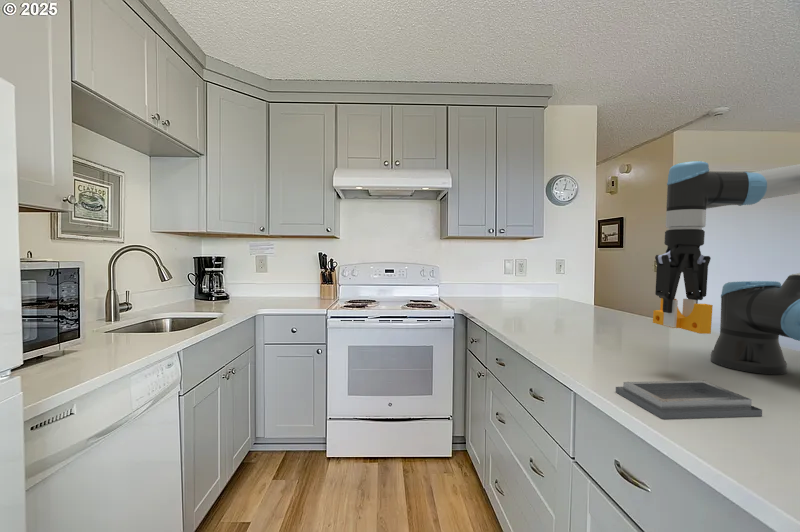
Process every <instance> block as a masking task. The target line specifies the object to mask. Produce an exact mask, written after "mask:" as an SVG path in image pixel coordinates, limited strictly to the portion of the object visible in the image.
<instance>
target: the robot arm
mask: <svg viewBox="0 0 800 532" xmlns="http://www.w3.org/2000/svg"><path fill="white" fill-rule="evenodd" d="M666 186H667V189H666V190H667V192H666V213H665V227H666V229H667V230H665V231H664V245H666V246H667V248H666V251H665V253H663V254H655V257H654V258H655V263H656V273H655V274H656V277H655V292H654V293H655V296H657V297H659V299H661V298H663V312H664V322H663V325H664V327H667V326H668V327H667V328H670V327H673V328H672V329H677V328H676V322H677V306H678V301H679V300H678V299H677V300H674V299H676V294H677V292H678V287H679V282H680V279H681V276H682V275H683V276H682V277H683V283H684V289H685V295H686V298H683V299H682V311H681V313H682V314H683V315H684V316H685V317H687V316H689V315H690V314H691V312H692V310H693V308H694V304H699V302H698V301H703V299H704V298H706V296H707V291H708V290H707V288H708V275H709V274H708V272H709V264H710V262H711V256H710V255H704V254H702V251H701V248H700V247H702V246H703V245H704V244H705V230H704V228H705V227H706V225H707V224H706V221H707V220H706V219H707V210H708V209H713V208H720V207H726V206H740V207H741V206H750V205H751V206H752V205H755V204H757V203H759V202H760V201H762V200H766V199H771V198H778V197H784V196H790V195H795V194H800V163H798V164H794V165H787V166H782V167H781V166H780V167H775V168H769V169H763V170H759V171H758V170H757V171H753V172H748V171H735V172H733V171H731V172H730V171H729V172H726V171H725V172H722V171H716V172H715V171H710V167H709V163H708V162H706V161H702V160H701V161H699V160H698V161H697V160H694V161H685V162H680V163H679V162H678V163H676V164H674V165H672V166H671V167H670V168H669V170H668V175H667V183H666ZM663 325H662V326H663ZM719 326H720V328H719V329H720V330H719V335H718V337H717V340H716V342H715V344H714V348H713V349H712V350H711V352H710V361H711V362H712V363H713V364H715V365H718V366H721V367H724V368H727V369H732V370H736V371H742V372H747V373H754V374H763V375H784V374H785V375H786V373H787V372H788V370H787V369H788V363H787V361H786V360H785V357H784V353H783V350H782V348H781V347H782V346H781V345H780V341H779V340H780V339H779V337H780V336H781V337H785V338H789V339H792V340H796V341H799V342H800V272H798V273H797V272H796V273H792V274H789V275H788V276H787V278H786V279H785V281H783V283H781V282H779V281H776V280H775V281H774V280H773V281H772V280H754V281H753V280H751V281H750V280H749V281H744V280H743V281H728V282H726V283H725V284H723V286H722V290H721V294H720V325H719Z"/></svg>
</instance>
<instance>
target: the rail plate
mask: <svg viewBox="0 0 800 532" xmlns="http://www.w3.org/2000/svg"><path fill="white" fill-rule="evenodd" d="M615 394H618V395H620V396H621V397H623V398H625V399H626V400H628V401H630V402H632V403H634V404H636V405H637V406H639V407H641V408H642V409H644V410H646V411H647V412H649V413H651V414H653V415H654V414H655V416H656V417H658V418H660V419H661V418H662V419H661V420H674V419H677V420H678V419H679V420H680V419H681V420H682V418H683V419H707V418H708V419H709V418H710V419H712V418H713V419H714V418H716V417H717V418H742V417H743V418H744V417H762V416H763V409H762V408H759V407H757V406H753V405H752V400H753V399H751V398H750V397H746V396H745V395H741V394H739V393H736V392H733V391H731V390H729V389H726V388H723V387H721V386H719V385H715V384H713V383H711V382H708V381H705V380H704V379H703V380H702V379H701V380H664V381H661V380H659V381H658V380H657V381H655V380H654V381H652V380H651V381H623V386H615Z"/></svg>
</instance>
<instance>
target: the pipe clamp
mask: <svg viewBox="0 0 800 532" xmlns="http://www.w3.org/2000/svg"><path fill="white" fill-rule="evenodd" d="M674 300H678V299H677V298H674ZM659 305H660V306H659V309H655V310H654V309H653V312H652V313H653V314H652V323H653V324H656V325H660V326H664V325H663V322H664V312H663V298H660V304H659ZM712 318H713V304H708V303H698V304H694V308H693V310H692V312H691V314H690V315H689V316H687V317H685V316H684V315H683V314H682V311H680V309H679V306H678V305H677V322H676V328H675V329H681V330H684V331H689V332H693V333H696V334H703V335H705V334H706V335H707V334H709V335H710V334H711V333H712ZM664 327H665V326H664ZM666 327H667V328H671V329H674V328H673V327H668V326H666Z"/></svg>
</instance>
